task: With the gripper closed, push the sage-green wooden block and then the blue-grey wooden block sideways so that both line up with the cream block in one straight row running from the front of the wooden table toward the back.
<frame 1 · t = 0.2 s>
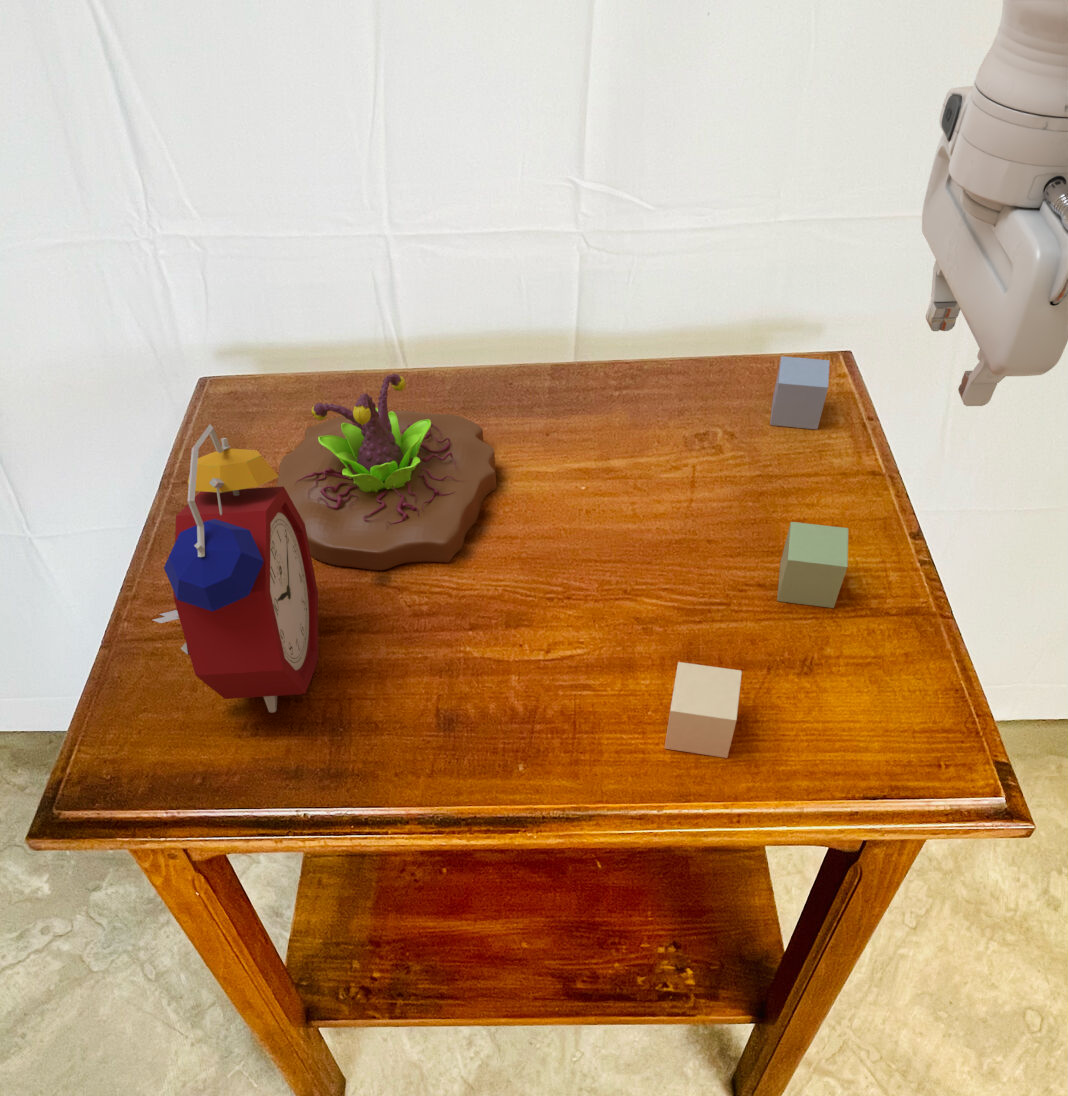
hand: (954, 361, 65), 16 cm above the table, tool pointing down, fingers open, 8 cm apart
alarm clock: (267, 664, 71), on the table
blue-grey block: (794, 413, 87), on the table
cream block: (699, 729, 66), on the table
plant: (386, 498, 82), on the table
sage block: (806, 585, 74), on the table
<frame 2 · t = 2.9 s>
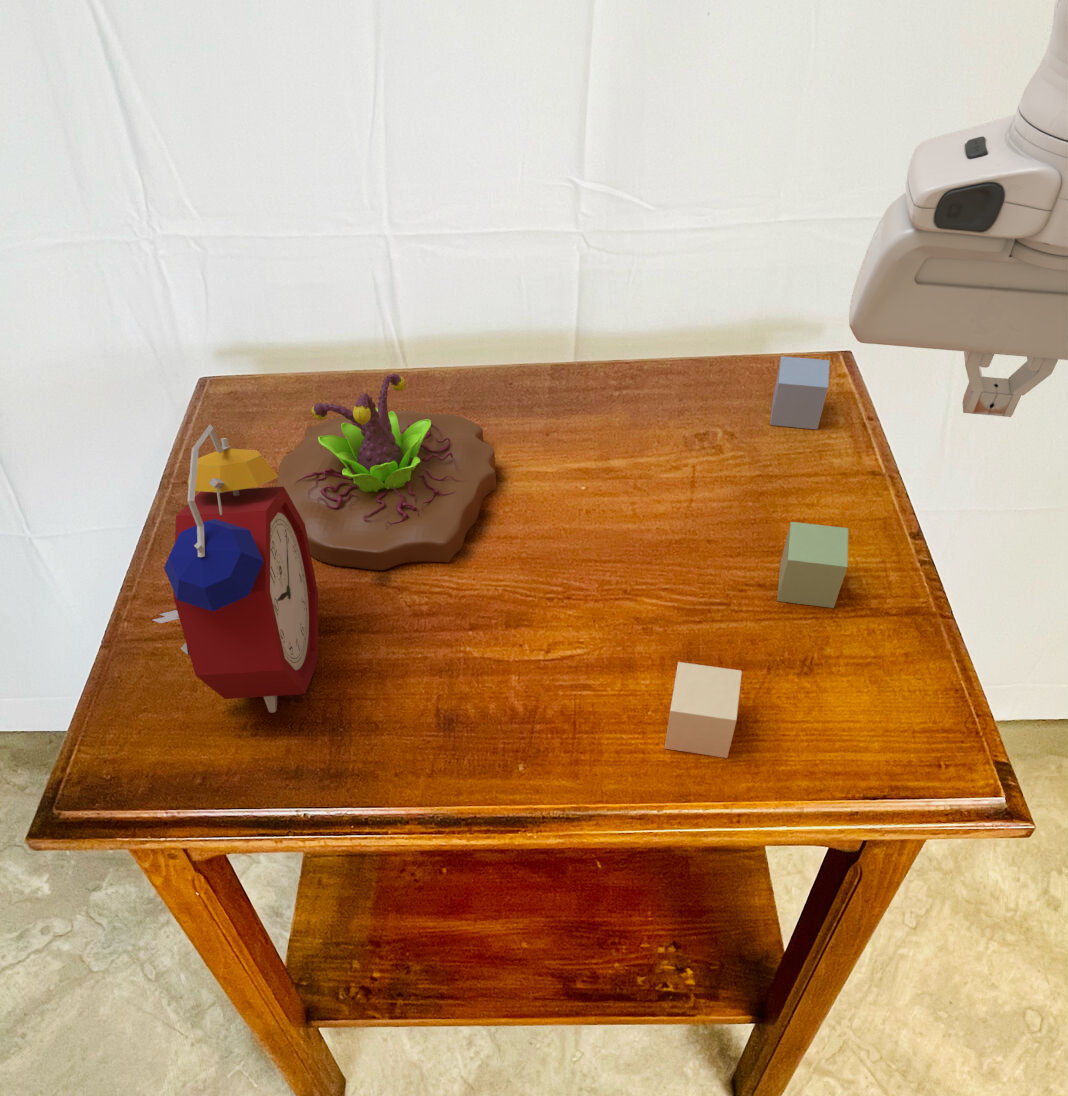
hand: (985, 410, 59), 17 cm above the table, tool pointing down, fingers closed
nothing on the table moved.
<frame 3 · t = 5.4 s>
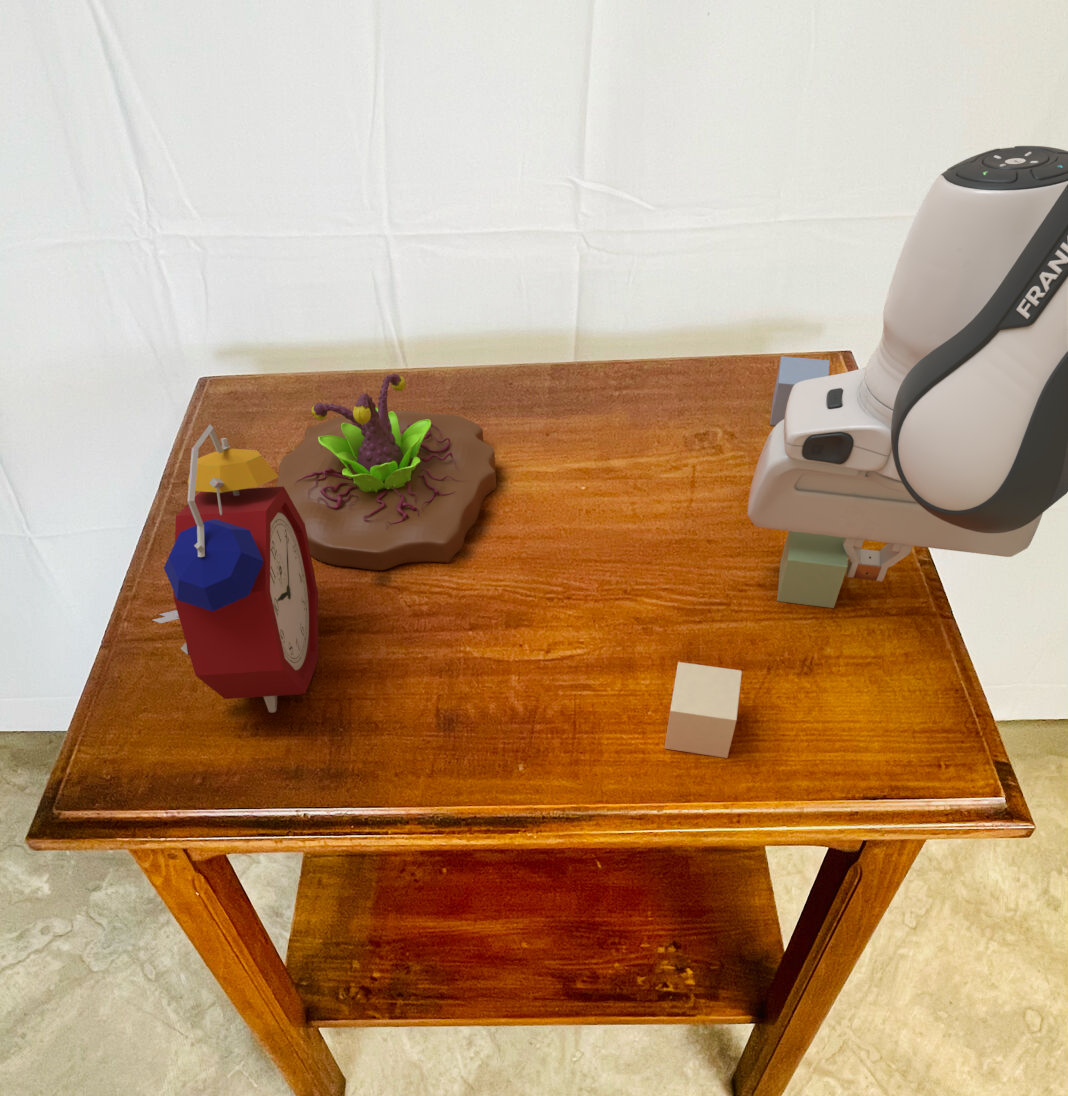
hand: (863, 574, 72), 2 cm above the table, tool pointing down, fingers closed
sage block: (806, 585, 74), on the table, touching gripper
everything else where it was.
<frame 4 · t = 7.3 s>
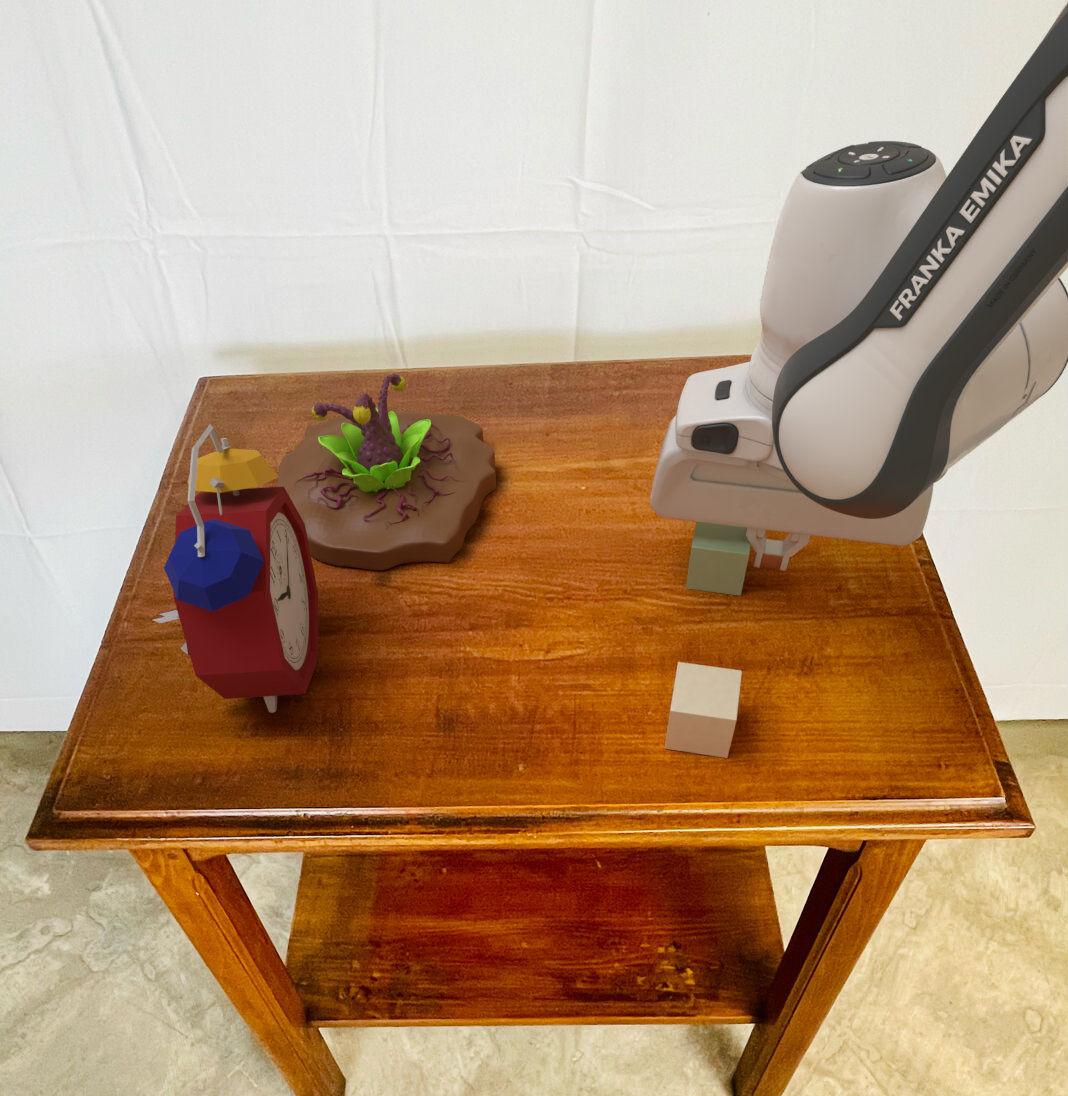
hand: (769, 563, 73), 2 cm above the table, tool pointing down, fingers closed
sage block: (716, 573, 75), on the table, touching gripper
everything else where it was.
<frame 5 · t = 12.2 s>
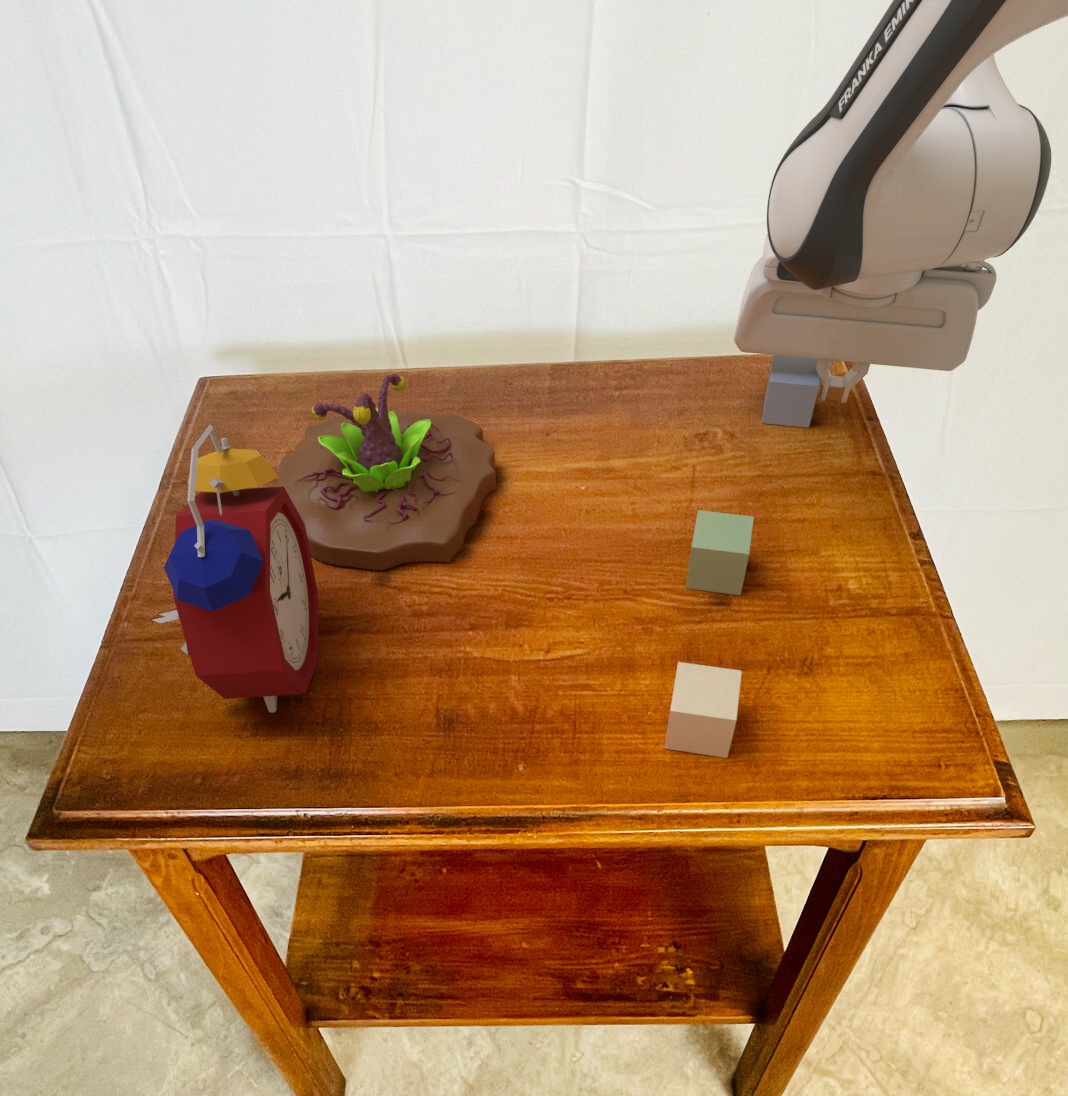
hand: (832, 398, 86), 2 cm above the table, tool pointing down, fingers closed
blue-grey block: (786, 412, 88), on the table, touching gripper
sage block: (715, 573, 75), on the table
everything else where it was.
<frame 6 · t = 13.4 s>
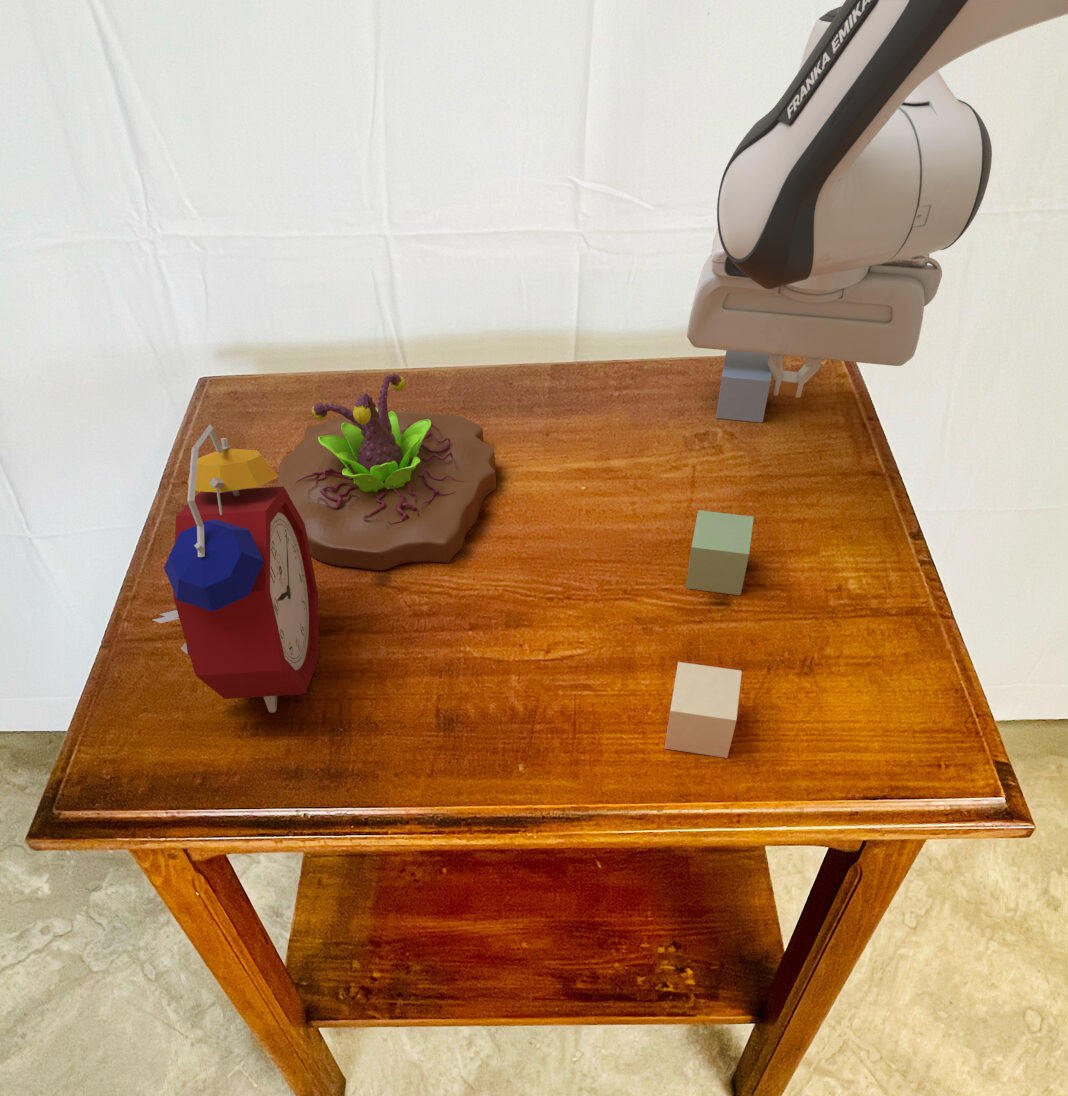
hand: (786, 393, 86), 2 cm above the table, tool pointing down, fingers closed
blue-grey block: (741, 407, 88), on the table, touching gripper
everything else where it was.
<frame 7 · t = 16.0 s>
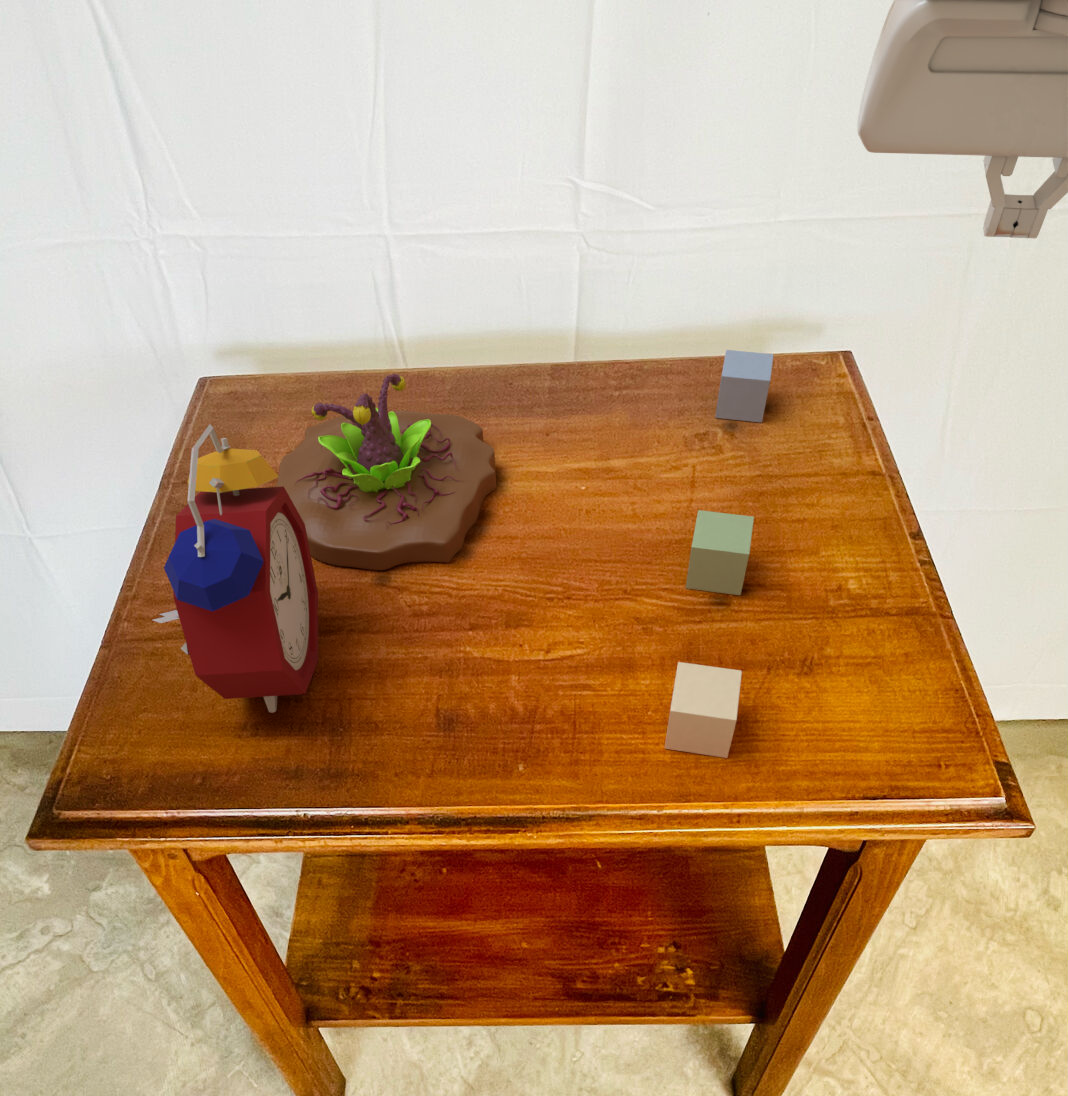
hand: (1008, 233, 54), 26 cm above the table, tool pointing down, fingers closed
blue-grey block: (740, 407, 88), on the table
everything else where it was.
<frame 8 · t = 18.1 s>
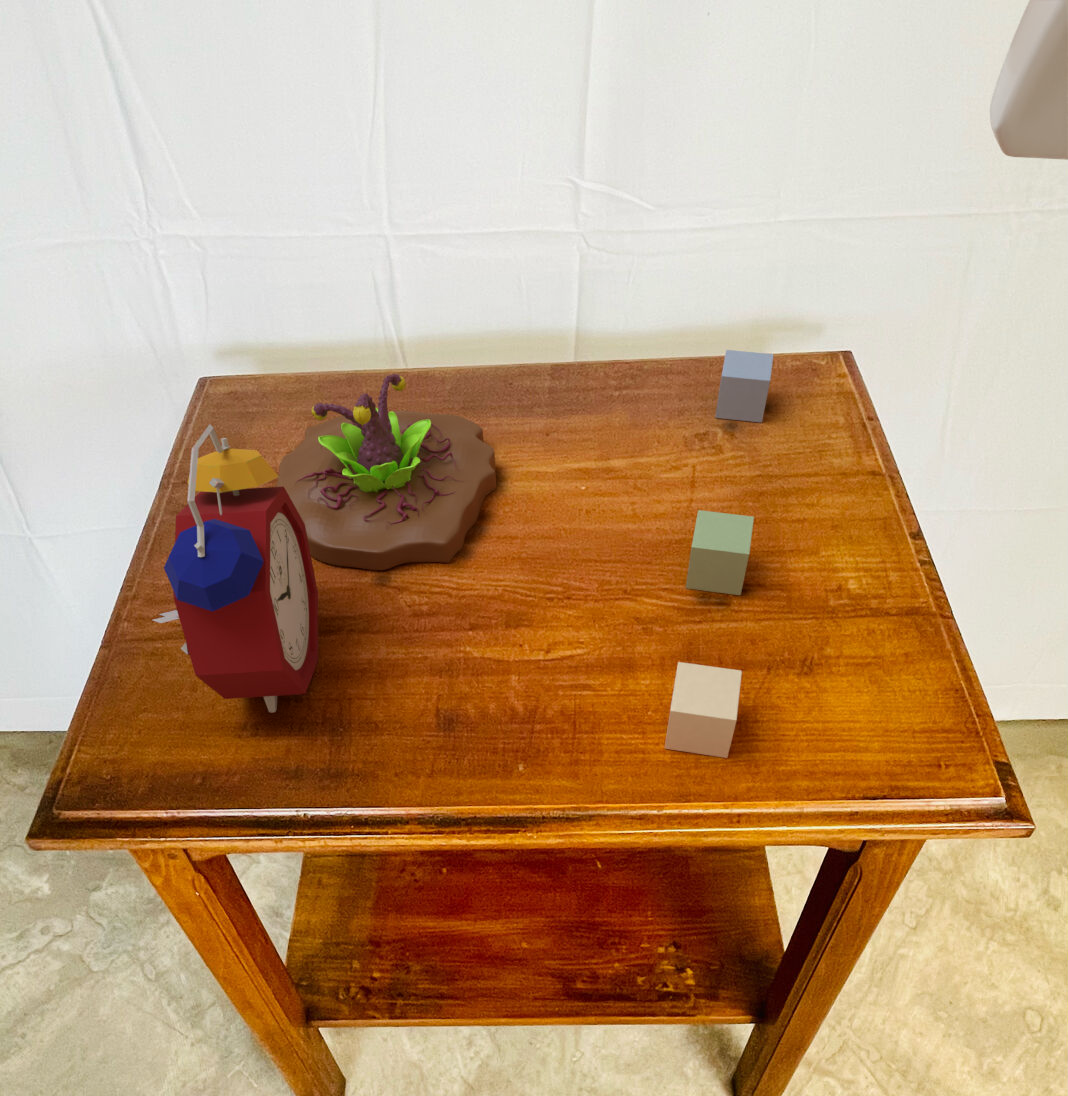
nothing on the table moved.
at the end: sage block 0.4 cm from the target spot on the table beside the cream block, on the table; blue-grey block 0.4 cm from the target spot on the table beside the cream block, on the table; cream block moved 0.0 cm from its start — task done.
